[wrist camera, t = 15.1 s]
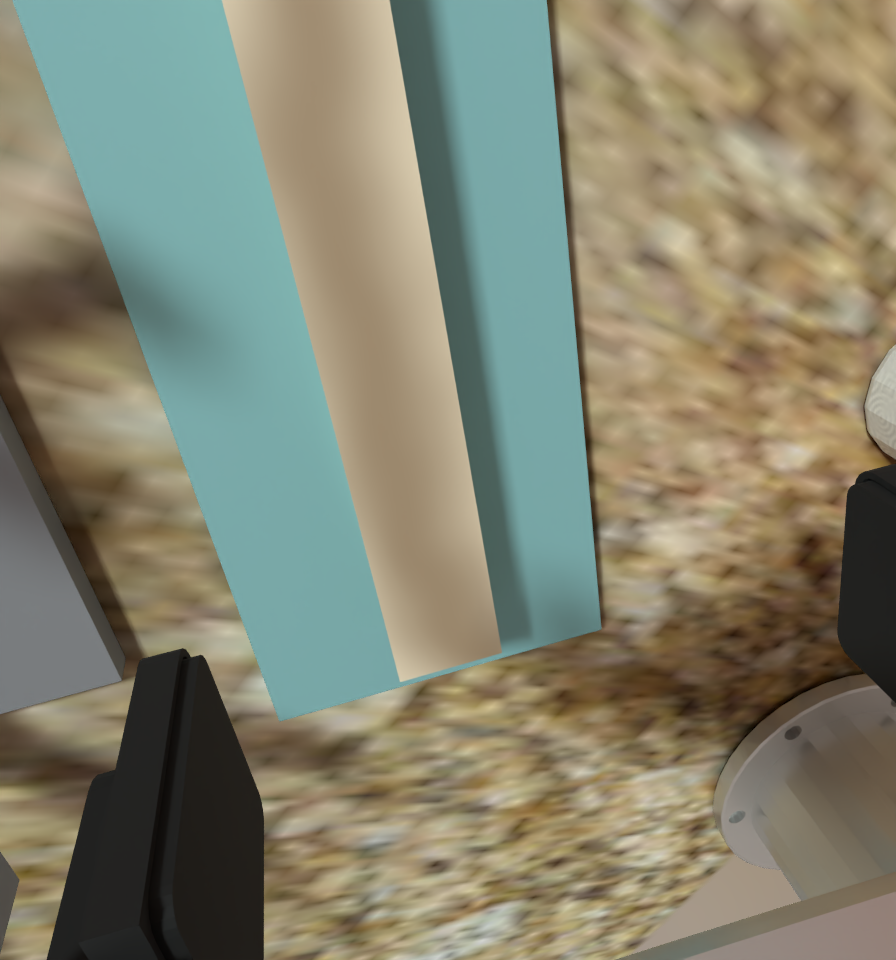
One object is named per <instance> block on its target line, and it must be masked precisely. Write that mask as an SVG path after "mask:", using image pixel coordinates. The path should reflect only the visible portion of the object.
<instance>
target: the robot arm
mask: <svg viewBox="0 0 896 960" xmlns="http://www.w3.org/2000/svg"><path fill="white" fill-rule="evenodd" d="M837 630H838V638H839V641H840V644H841V646H842V648H843V650H844V651H845V653H846V654H847V655H848V656H849V657H850V658H851V659H852V660H853V661H854V662H855V663H856V664H857V665H858V666H859V667H860V668H861V669H862V670H863V671H864V672H865V673H866V674H861V675H854V676H848V677H844V678H841V679H837V680H834V681H831V682H828V683H824V684H822V685H820V686H818V687H815V688H813V689H811V690H809V691H807V692H804V693H802V694H800V695H799V696H797V697H795V698H794V699H792V700H790V701H789V702H787V703H786V704H784V705H782V706H781V707H779V708H778V709H777V710H775V711H774V712H773V713H772V714H770V715H769V716H768V717H766V718H765V719H764V720H763V721H761V722H760V723H759V724H758V725H757V726H756V727H755V728H754V729H753V730H752V731H751V732H750V733H749V734H748V735H747V736H746V737H745V738H744V739H743V740H742V742H741V743H740V744H739V746H738V747H737V748H736V750H735V751H734V752H733V754H732V755H731V756H730V758H729V760H728V762H727V764H726V765H725V767H724V769H723V771H722V773H721V775H720V777H719V780H718V783H717V787H716V790H715V793H714V802H713V814H714V819H715V823H716V826H717V828H718V830H719V831H720V833H721V835H722V837H723V838H724V840H725V842H726V844H727V845H728V846H729V848H730V849H731V850H732V851H733V852H734V854H735V855H736V856H738V857H739V858H741V859H742V860H744V861H746V862H747V863H749V864H752V865H756V866H759V867H762V868H768V869H776V870H781V871H782V872H783V874H784V876H785V877H786V879H787V880H788V881H789V883H790V884H791V886H792V888H793V889H794V890H795V892H796V894H797V895H798V897H799V898H800V899H801V901H800V902H797V903H793V904H791V905H787V906H784V907H781V908H777V909H774V910H771V911H768V912H765V913H762V914H758V915H755V916H752V917H749V918H746V919H742V920H739V921H736V922H733V923H730V924H727V925H723V926H720V927H717V928H714V929H711V930H707V931H704V932H701V933H698V934H695V935H692V936H688V937H686V938H682V939H679V940H676V941H673V942H670V943H666V944H663V945H660V946H657V947H654V948H651V949H648V950H645V951H641V952H638V953H635V954H632V955H629V956H626V957H622V958H619V959H616V960H896V464H892V465H888V466H885V467H881V468H877V469H873V470H869V471H865V472H863V473H861V474H860V475H859V476H858V478H857V479H856V483H855V485H853V486H851V487H850V488H849V490H848V494H847V503H846V517H845V531H844V545H843V559H842V573H841V587H840V601H839V615H838V629H837ZM47 960H264V815H263V808H262V802H261V799H260V795H259V792H258V789H257V787H256V784H255V782H254V779H253V777H252V774H251V772H250V769H249V767H248V764H247V762H246V759H245V757H244V754H243V752H242V749H241V747H240V744H239V742H238V739H237V737H236V734H235V732H234V729H233V726H232V724H231V721H230V719H229V716H228V714H227V711H226V709H225V706H224V704H223V701H222V699H221V696H220V694H219V691H218V689H217V686H216V684H215V681H214V679H213V676H212V674H211V671H210V669H209V666H208V664H207V662H206V659H205V658H204V657H203V656H202V655H199V656H195V657H190V655H189V653H188V652H187V651H186V649H183V648H182V649H179V650H175V651H171V652H167V653H163V654H159V655H155V656H152V657H148V658H144V659H142V660H140V662H139V665H138V668H137V673H136V678H135V682H134V687H133V691H132V696H131V701H130V705H129V710H128V715H127V719H126V724H125V728H124V733H123V738H122V742H121V747H120V751H119V756H118V761H117V765H116V770H114V771H110V772H106V773H103V774H99V775H97V776H96V777H95V778H94V779H93V781H92V783H91V786H90V788H89V791H88V795H87V799H86V803H85V807H84V811H83V815H82V819H81V824H80V828H79V832H78V836H77V840H76V844H75V848H74V852H73V856H72V860H71V864H70V868H69V872H68V876H67V880H66V884H65V888H64V892H63V896H62V900H61V904H60V908H59V912H58V916H57V920H56V924H55V928H54V933H53V937H52V941H51V945H50V949H49V953H48V957H47Z"/></svg>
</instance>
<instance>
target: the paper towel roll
mask: <svg viewBox="0 0 896 960" xmlns="http://www.w3.org/2000/svg"><path fill="white" fill-rule="evenodd" d="M864 407H865V415H866V423H867V430H868V432H869V433H870V435H871V436H872V437H873V439H874V440H875V441H876V443H877V444H878V445H879V447H880V448H881V449H882V451H883V452H885V453H886V454H888V455H890V456H891V457H893V458H894V459H896V345H894V346H893V347H892V348H891V349H890V350H889V352H888V353H887V355H886V356H885V358H884V359H883V361H882V363H881V364H880V366H879V367H878V369H877V371H876V372H875V374H874V375H873V377H872V380H871V383H870V387H869V391H868V394H867V398H866V402H865V406H864Z"/></svg>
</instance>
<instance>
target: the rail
mask: <svg viewBox="0 0 896 960" xmlns="http://www.w3.org/2000/svg"><path fill="white" fill-rule="evenodd" d="M222 3H223V7H224V11H225V15H226V18H227V22H228V26H229V30H230V34H231V38H232V41H233V45H234V49H235V53H236V57H237V61H238V64H239V68H240V72H241V76H242V80H243V83H244V87H245V91H246V95H247V99H248V103H249V106H250V110H251V114H252V118H253V122H254V126H255V129H256V133H257V137H258V141H259V145H260V148H261V152H262V156H263V160H264V164H265V168H266V171H267V175H268V179H269V183H270V187H271V191H272V194H273V198H274V202H275V206H276V210H277V213H278V217H279V221H280V225H281V229H282V233H283V236H284V240H285V244H286V248H287V252H288V256H289V259H290V263H291V267H292V271H293V275H294V278H295V282H296V286H297V290H298V294H299V298H300V301H301V305H302V309H303V313H304V317H305V321H306V324H307V328H308V332H309V336H310V340H311V343H312V347H313V351H314V355H315V359H316V363H317V366H318V370H319V374H320V378H321V382H322V385H323V389H324V393H325V397H326V401H327V405H328V408H329V412H330V416H331V420H332V424H333V428H334V431H335V435H336V439H337V443H338V447H339V450H340V454H341V458H342V462H343V466H344V470H345V473H346V477H347V481H348V485H349V489H350V493H351V496H352V500H353V504H354V508H355V512H356V515H357V519H358V523H359V527H360V531H361V535H362V538H363V542H364V546H365V550H366V554H367V558H368V561H369V565H370V569H371V573H372V577H373V580H374V584H375V588H376V592H377V596H378V600H379V603H380V607H381V611H382V615H383V619H384V623H385V626H386V630H387V634H388V638H389V642H390V645H391V649H392V653H393V657H394V661H395V665H396V668H397V672H398V676H399V680H400V682H403V681H406V680H410V679H413V678H417V677H420V676H423V675H427V674H430V673H434V672H437V671H441V670H444V669H448V668H451V667H455V666H458V665H462V664H465V663H469V662H472V661H476V660H479V659H483V658H486V657H490V656H493V655H496V654H500V653H502V649H501V644H500V638H499V632H498V626H497V620H496V615H495V609H494V603H493V597H492V591H491V586H490V580H489V574H488V568H487V562H486V557H485V551H484V545H483V539H482V533H481V528H480V522H479V516H478V510H477V504H476V499H475V493H474V487H473V481H472V476H471V470H470V464H469V458H468V452H467V447H466V441H465V435H464V429H463V423H462V418H461V412H460V406H459V400H458V394H457V389H456V383H455V377H454V371H453V365H452V360H451V354H450V348H449V342H448V336H447V331H446V325H445V319H444V313H443V307H442V302H441V296H440V290H439V284H438V278H437V273H436V267H435V261H434V255H433V249H432V244H431V238H430V232H429V226H428V220H427V215H426V209H425V203H424V197H423V191H422V186H421V180H420V174H419V168H418V162H417V157H416V151H415V145H414V139H413V133H412V128H411V122H410V116H409V110H408V104H407V99H406V93H405V87H404V81H403V75H402V70H401V64H400V58H399V52H398V46H397V41H396V35H395V29H394V23H393V17H392V12H391V6H390V0H222Z"/></svg>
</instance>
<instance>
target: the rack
mask: <svg viewBox="0 0 896 960" xmlns="http://www.w3.org/2000/svg"><path fill="white" fill-rule="evenodd" d="M125 660H126V658H125V656H124V654H123V651H122V649H121V647H120V645H119V643H118V641H117V639H116V637H115V635H114V633H113V630H112V628H111V626H110V624H109V622H108V620H107V618H106V616H105V614H104V612H103V610H102V607H101V605H100V603H99V601H98V599H97V597H96V595H95V593H94V591H93V589H92V586H91V584H90V582H89V580H88V578H87V576H86V574H85V572H84V570H83V568H82V565H81V563H80V561H79V559H78V557H77V555H76V553H75V551H74V549H73V547H72V544H71V542H70V540H69V538H68V536H67V534H66V532H65V530H64V528H63V526H62V523H61V521H60V519H59V517H58V515H57V513H56V511H55V509H54V507H53V505H52V503H51V500H50V498H49V496H48V494H47V492H46V490H45V488H44V486H43V484H42V482H41V479H40V477H39V475H38V473H37V471H36V469H35V467H34V465H33V463H32V461H31V458H30V456H29V454H28V452H27V450H26V448H25V446H24V444H23V442H22V440H21V437H20V435H19V433H18V431H17V429H16V427H15V425H14V423H13V421H12V419H11V417H10V414H9V412H8V410H7V408H6V406H5V404H4V402H3V400H2V398H1V396H0V714H2V713H6V712H10V711H13V710H17V709H21V708H24V707H28V706H31V705H35V704H39V703H42V702H46V701H50V700H53V699H57V698H61V697H64V696H68V695H72V694H75V693H79V692H83V691H86V690H90V689H93V688H97V687H101V686H104V685H108V684H112V683H115V682H119V681H122V677H123V671H124V666H125ZM18 883H19V878H18V877H17V876H16V874H15V873H14V871H13V870H12V868H11V867H10V865H9V864H8V862H7V861H6V860H5V858H4V857H3V855H2V854H1V852H0V952H1V948H2V945H3V941H4V937H5V933H6V929H7V925H8V922H9V918H10V914H11V910H12V906H13V902H14V899H15V895H16V891H17V887H18Z"/></svg>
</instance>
